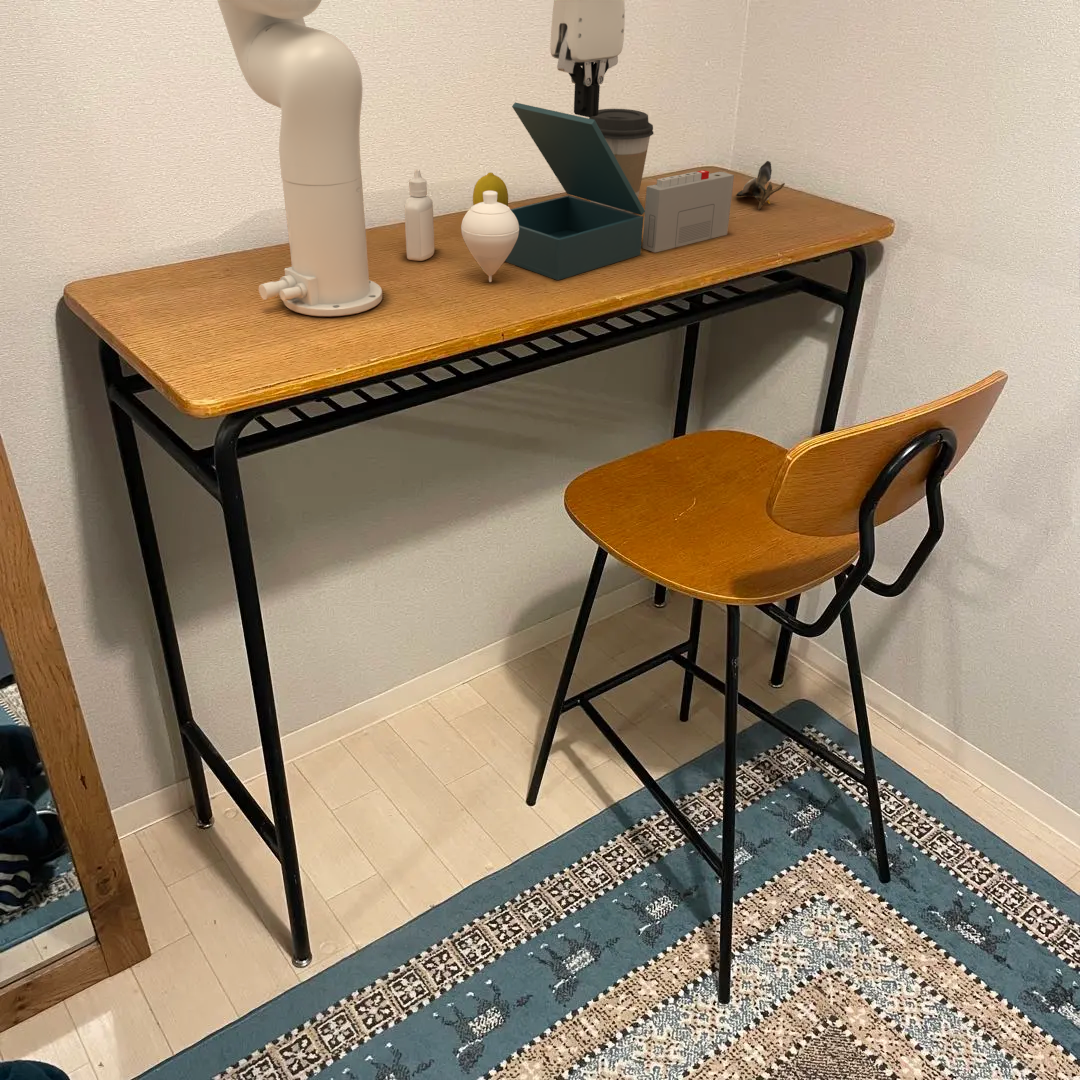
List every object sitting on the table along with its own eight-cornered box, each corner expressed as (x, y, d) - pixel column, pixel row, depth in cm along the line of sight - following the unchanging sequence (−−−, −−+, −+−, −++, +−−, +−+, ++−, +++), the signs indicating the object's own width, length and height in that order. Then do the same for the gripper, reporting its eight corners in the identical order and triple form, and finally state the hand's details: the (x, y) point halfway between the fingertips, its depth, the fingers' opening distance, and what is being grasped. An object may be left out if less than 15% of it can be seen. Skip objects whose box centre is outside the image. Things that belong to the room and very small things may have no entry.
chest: (557, 280, 143) (559, 239, 140) (484, 254, 152) (483, 215, 149) (640, 254, 153) (643, 216, 150) (567, 231, 162) (568, 194, 159)
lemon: (493, 232, 161) (493, 178, 157) (465, 225, 164) (465, 172, 159) (515, 224, 165) (515, 172, 160) (488, 217, 168) (488, 166, 163)
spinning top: (508, 294, 138) (509, 201, 131) (453, 287, 139) (452, 196, 133) (525, 276, 144) (527, 187, 138) (473, 270, 146) (472, 182, 139)
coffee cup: (573, 216, 169) (576, 118, 161) (585, 198, 178) (590, 105, 170) (642, 222, 167) (650, 123, 159) (652, 204, 176) (659, 109, 168)
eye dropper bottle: (445, 255, 151) (443, 169, 144) (415, 263, 148) (411, 176, 141) (426, 248, 154) (423, 163, 147) (396, 256, 150) (391, 170, 144)
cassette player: (714, 230, 164) (721, 164, 159) (727, 234, 162) (734, 168, 157) (642, 248, 156) (647, 179, 150) (654, 252, 154) (660, 183, 149)
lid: (591, 124, 135) (594, 119, 135) (511, 106, 144) (514, 101, 144) (642, 215, 150) (645, 211, 150) (566, 194, 159) (569, 189, 159)
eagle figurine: (793, 203, 174) (779, 179, 181) (778, 168, 170) (764, 145, 176) (752, 226, 176) (739, 202, 183) (735, 193, 172) (723, 169, 178)
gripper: (610, -40, 141) (602, 104, 151) (530, -37, 132) (528, 117, 142) (652, -36, 137) (641, 113, 147) (573, -32, 128) (567, 126, 138)
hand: (585, 114), depth 144 cm, fingers closed
